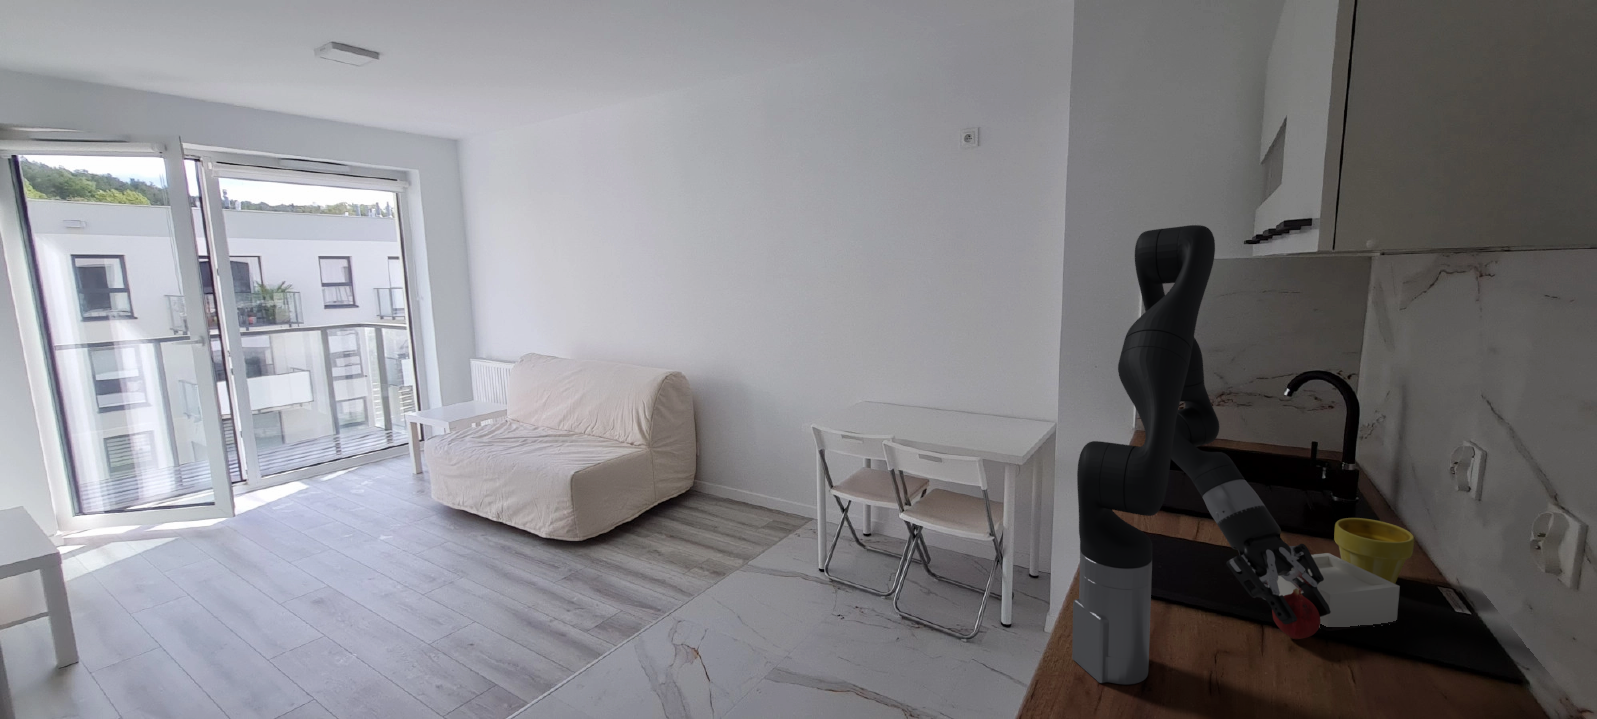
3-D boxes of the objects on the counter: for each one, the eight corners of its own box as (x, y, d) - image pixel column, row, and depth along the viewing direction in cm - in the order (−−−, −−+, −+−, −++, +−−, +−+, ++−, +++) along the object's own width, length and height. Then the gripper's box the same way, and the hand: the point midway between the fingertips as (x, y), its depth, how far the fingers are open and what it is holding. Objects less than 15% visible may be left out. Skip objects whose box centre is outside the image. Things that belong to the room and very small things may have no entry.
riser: (1327, 633, 100) (1330, 594, 99) (1263, 595, 112) (1265, 559, 111) (1396, 624, 101) (1399, 586, 100) (1325, 587, 113) (1328, 552, 112)
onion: (1327, 651, 95) (1331, 600, 94) (1283, 648, 96) (1286, 598, 95) (1305, 629, 101) (1308, 581, 99) (1263, 626, 102) (1266, 579, 101)
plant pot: (1419, 601, 107) (1425, 545, 105) (1340, 589, 111) (1344, 536, 110) (1396, 573, 116) (1401, 521, 114) (1324, 564, 121) (1327, 514, 119)
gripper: (1219, 510, 101) (1288, 620, 91) (1291, 498, 105) (1365, 602, 95) (1189, 529, 107) (1252, 634, 97) (1259, 517, 110) (1325, 617, 101)
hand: (1307, 618), depth 96 cm, fingers closed on onion, 5 cm apart
